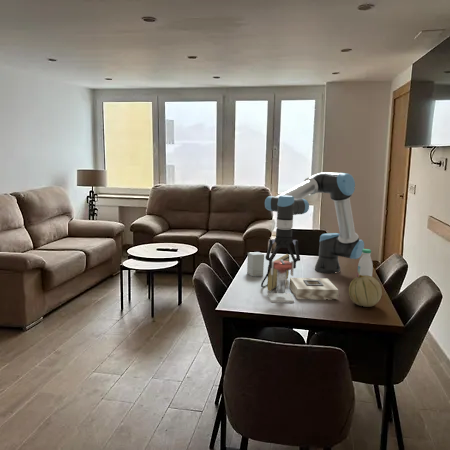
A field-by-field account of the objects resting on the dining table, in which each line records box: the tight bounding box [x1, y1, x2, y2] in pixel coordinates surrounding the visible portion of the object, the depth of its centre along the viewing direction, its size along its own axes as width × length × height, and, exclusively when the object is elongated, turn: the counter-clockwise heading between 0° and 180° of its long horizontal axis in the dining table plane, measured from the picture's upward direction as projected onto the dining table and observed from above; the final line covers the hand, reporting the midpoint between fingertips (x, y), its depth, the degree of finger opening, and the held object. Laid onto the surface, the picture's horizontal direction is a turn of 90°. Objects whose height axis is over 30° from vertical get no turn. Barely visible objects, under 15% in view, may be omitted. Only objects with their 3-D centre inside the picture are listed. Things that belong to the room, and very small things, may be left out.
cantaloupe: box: [348, 275, 383, 308], centre depth 201 cm, size 15×15×15 cm
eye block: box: [289, 277, 339, 301], centre depth 219 cm, size 20×20×6 cm
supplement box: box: [246, 251, 265, 277], centre depth 250 cm, size 7×7×13 cm
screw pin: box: [273, 260, 292, 293], centre depth 207 cm, size 9×9×15 cm
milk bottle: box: [356, 248, 374, 277], centre depth 235 cm, size 8×8×20 cm
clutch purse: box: [260, 253, 290, 292], centre depth 231 cm, size 30×7×15 cm, turn 153°
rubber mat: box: [267, 292, 295, 304], centre depth 209 cm, size 11×11×1 cm
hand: (281, 274), depth 207 cm, fingers closed on screw pin, 9 cm apart
